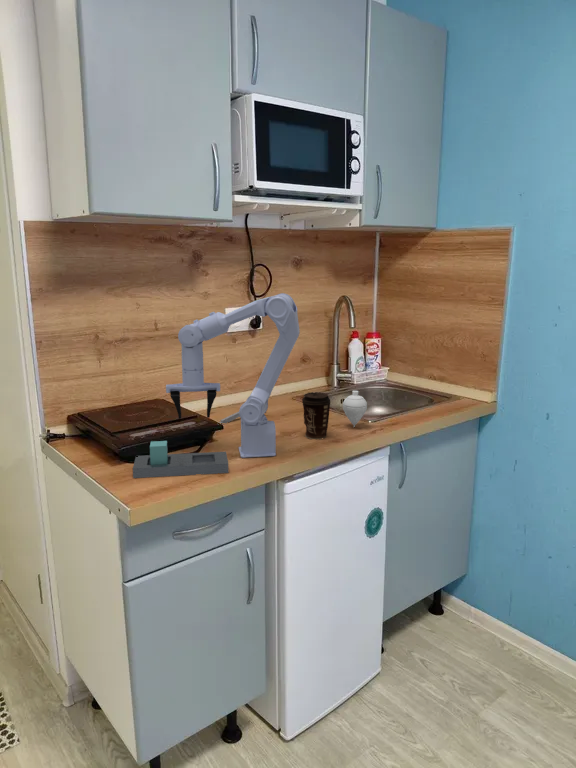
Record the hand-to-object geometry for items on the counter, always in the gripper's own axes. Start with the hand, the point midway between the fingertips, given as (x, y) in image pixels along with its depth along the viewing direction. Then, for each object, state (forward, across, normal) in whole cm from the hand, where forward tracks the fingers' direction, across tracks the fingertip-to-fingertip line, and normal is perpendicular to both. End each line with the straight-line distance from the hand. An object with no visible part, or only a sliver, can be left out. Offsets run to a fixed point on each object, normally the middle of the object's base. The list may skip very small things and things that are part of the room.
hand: (194, 417), depth 155 cm
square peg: (+10, +9, +14) cm, 19 cm away
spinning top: (+10, -50, -14) cm, 53 cm away
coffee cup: (+10, -36, -7) cm, 38 cm away
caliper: (+10, -16, -30) cm, 35 cm away
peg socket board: (+9, +4, +14) cm, 18 cm away
